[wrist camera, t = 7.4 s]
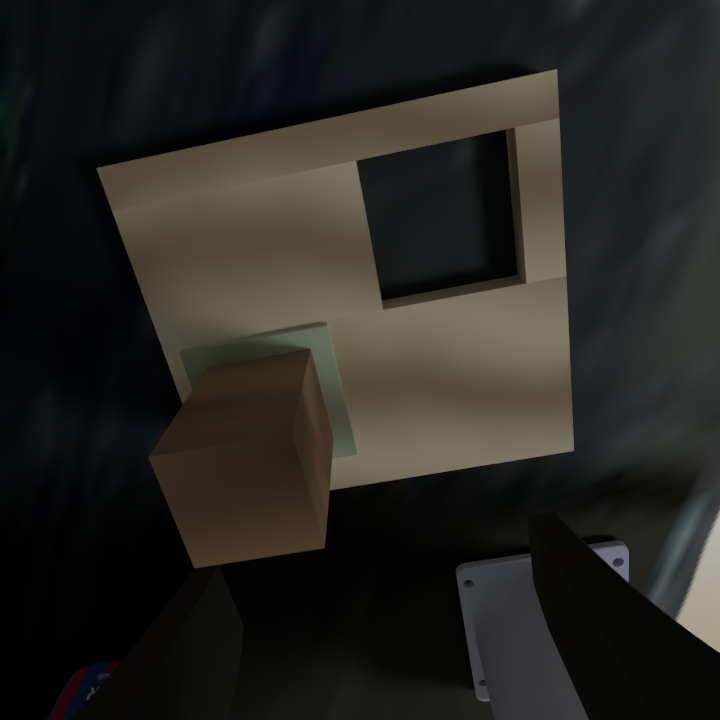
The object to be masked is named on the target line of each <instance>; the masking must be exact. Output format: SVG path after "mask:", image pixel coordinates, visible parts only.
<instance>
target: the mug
mask: <svg viewBox="0 0 720 720" xmlns="http://www.w3.org/2000/svg"><path fill="white" fill-rule="evenodd" d="M120 663H121V661H105V662H98V663H95V664H91V665H89V666H86V667H84V668H82V669H80V670H79V671H77V672H76V673H74V674H73V675H72V676H71V677H70V678H69V679H68V681H67V683H66V684H65V686H64V688H63V690H62V692H61V694H60V696H59V697H58V699H57V701H56V703H55V705H54V707H53V709H52V710H51V712H50V714H49V716H48V718H47V720H69V719H70V718H71V717H72V716H73V715H74V714H75V713H76V712H77V711H78V710H79V709H80V708H81V707H82V706H83V705H84V704H85V703H86V702H87V701H88V699H89V698H90V697H91V696H92V695H93V694H94V693H95V692H96V691H97V690H98V688H99V687H100V686H101V685H102V684H103V683H104V681H105V680H106V679H107V678H108V677H109V675H110V674H111V673H112V672H113V671H114V670H115V668H116V667H117V666H118V665H119V664H120Z"/></svg>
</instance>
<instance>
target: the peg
mask: <svg viewBox="0 0 720 720" xmlns="http://www.w3.org/2000/svg"><path fill="white" fill-rule="evenodd" d="M333 444H334V439H333V435H332V431H331V427H330V423H329V419H328V415H327V411H326V407H325V403H324V399H323V395H322V391H321V387H320V383H319V379H318V375H317V371H316V367H315V363H314V359H313V355H312V351H311V349H307V350H301V351H296V352H290V353H285V354H279V355H274V356H268V357H263V358H258V359H252V360H247V361H241V362H236V363H230V364H225V365H220V366H214V367H209V368H206V370H205V372H204V373H203V375H202V376H201V378H200V379H199V381H198V382H197V384H196V385H195V387H194V388H193V390H192V391H191V393H190V394H189V396H188V398H187V399H186V401H185V402H184V404H183V405H182V407H181V408H180V410H179V411H178V413H177V414H176V416H175V417H174V419H173V420H172V422H171V424H170V425H169V427H168V428H167V430H166V431H165V433H164V434H163V436H162V437H161V439H160V440H159V442H158V443H157V445H156V446H155V448H154V450H153V451H152V453H151V454H150V456H149V459H150V462H151V464H152V467H153V469H154V472H155V474H156V476H157V479H158V481H159V484H160V486H161V488H162V491H163V493H164V496H165V498H166V501H167V503H168V505H169V508H170V510H171V513H172V515H173V517H174V520H175V522H176V525H177V527H178V530H179V532H180V534H181V537H182V539H183V542H184V544H185V546H186V549H187V551H188V554H189V556H190V559H191V561H192V563H193V566H194V568H200V567H206V566H212V565H219V564H225V563H232V562H238V561H245V560H251V559H258V558H264V557H270V556H277V555H283V554H290V553H296V552H303V551H309V550H316V549H322V548H325V538H326V526H327V515H328V503H329V491H330V479H331V467H332V455H333Z"/></svg>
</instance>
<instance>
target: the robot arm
mask: <svg viewBox="0 0 720 720" xmlns="http://www.w3.org/2000/svg"><path fill="white" fill-rule="evenodd" d="M527 521H528V531H529V542H530V552H531V553H528V554H522V555H515V556H508V557H501V558H495V559H488V560H481V561H474V562H468V563H463V564H460V565H459V566H458V567H457V568H456V578H457V584H458V590H459V596H460V602H461V608H462V614H463V621H464V627H465V633H466V639H467V645H468V651H469V657H470V664H471V670H472V676H473V682H474V688H475V693H476V697H477V698H478V699H479V700H481V701H490V703H491V707H492V712H493V716H494V720H720V653H719V652H717V651H716V650H714V649H713V648H712V647H710V646H709V645H707V644H706V643H705V642H703V641H702V640H700V639H699V638H698V637H696V636H695V635H693V634H692V633H691V632H689V631H688V630H687V629H685V628H684V627H683V626H681V625H680V624H679V623H677V622H676V621H675V620H674V619H672V618H671V617H670V616H668V615H667V614H666V613H665V612H663V611H662V610H661V609H660V608H658V607H657V606H656V605H655V604H653V603H652V602H651V601H650V600H649V599H647V598H646V597H645V596H644V595H642V594H641V593H640V592H639V591H638V590H637V589H635V588H634V587H633V586H632V585H631V584H630V583H629V551H628V548H627V547H626V545H625V544H624V543H623V542H621V541H609V542H602V543H596V544H589V545H588V544H587V543H586V542H585V541H584V540H583V539H582V538H581V537H580V536H579V535H578V534H577V533H576V532H575V531H574V530H573V529H572V528H571V527H570V526H569V525H568V524H567V523H566V522H565V521H564V520H563V519H562V517H561V516H560V515H558V514H557V513H555V512H551V513H544V514H538V515H532V516H527ZM617 558H619V559H617ZM615 559H617V560H615ZM614 560H615V561H614ZM467 580H471V581H469V582H465V581H467ZM243 631H244V626H243V624H242V621H241V618H240V616H239V613H238V611H237V608H236V606H235V603H234V601H233V598H232V596H231V593H230V591H229V588H228V586H227V583H226V581H225V578H224V576H223V573H222V570H221V568H220V565H217V566H211V567H204V568H198V569H194V571H193V572H192V573H191V574H190V575H189V577H188V578H187V579H186V581H185V582H184V583H183V584H182V586H181V587H180V588H179V590H178V591H177V592H176V594H175V595H174V596H173V597H172V599H171V600H170V601H169V603H168V604H167V605H166V607H165V608H164V609H163V610H162V612H161V613H160V614H159V616H158V617H157V618H156V619H155V621H154V622H153V623H152V625H151V626H150V627H149V628H148V630H147V631H146V632H145V633H144V635H143V636H142V637H141V638H140V640H139V641H138V642H137V644H136V645H135V646H134V647H133V648H132V650H131V651H130V652H129V653H128V654H127V656H126V657H125V658H124V659H123V660H122V661H121V663H120V664H119V665H118V666H117V667H116V668H115V670H114V671H113V672H112V673H111V674H110V675H109V677H108V678H107V679H106V680H105V681H104V683H103V684H102V685H101V686H100V687H99V688H98V690H97V691H96V692H95V693H94V694H93V695H92V696H91V697H90V698H89V699H88V701H87V702H86V703H85V704H84V705H83V706H82V707H81V708H80V709H79V710H78V711H77V712H76V713H75V714H74V715H73V716H72V717H71V718H70V719H69V720H228V717H229V713H230V708H231V704H232V700H233V695H234V691H235V687H236V682H237V678H238V673H239V666H240V658H241V650H242V641H243Z"/></svg>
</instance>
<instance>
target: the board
mask: <svg viewBox="0 0 720 720" xmlns="http://www.w3.org/2000/svg"><path fill="white" fill-rule="evenodd" d="M505 129H506V139H507V152H508V164H509V176H510V189H511V201H512V213H513V226H514V238H515V251H516V263H517V275H516V276H510V277H505V278H500V279H494V280H489V281H484V282H478V283H473V284H468V285H462V286H457V287H452V288H446V289H441V290H436V291H430V292H425V293H420V294H414V295H409V296H404V297H398V298H393V299H388V300H382V298H381V293H380V287H379V282H378V276H377V271H376V266H375V260H374V255H373V249H372V244H371V239H370V233H369V228H368V222H367V217H366V212H365V206H364V201H363V196H362V190H361V185H360V179H359V174H358V169H357V163H356V160H361V159H366V158H370V157H375V156H380V155H385V154H390V153H394V152H399V151H404V150H409V149H414V148H418V147H423V146H428V145H433V144H438V143H443V142H447V141H452V140H457V139H462V138H467V137H471V136H476V135H481V134H486V133H491V132H495V131H500V130H505ZM97 171H98V174H99V177H100V179H101V182H102V185H103V188H104V190H105V193H106V196H107V199H108V201H109V204H110V207H111V209H112V212H113V215H114V218H115V220H116V223H117V226H118V229H119V231H120V234H121V237H122V240H123V242H124V245H125V248H126V251H127V253H128V256H129V259H130V261H131V264H132V267H133V270H134V272H135V275H136V278H137V281H138V283H139V286H140V289H141V292H142V294H143V297H144V300H145V302H146V305H147V308H148V311H149V313H150V316H151V319H152V322H153V324H154V327H155V330H156V333H157V335H158V338H159V341H160V344H161V346H162V349H163V352H164V354H165V357H166V360H167V363H168V365H169V368H170V371H171V374H172V376H173V379H174V382H175V385H176V387H177V390H178V393H179V396H180V398H181V401H182V404H184V402H185V401H186V399H187V398H188V396H189V394H190V393H191V391H192V390H193V388H194V387H195V385H196V384H197V382H198V381H199V379H200V378H201V376H202V375H203V373H204V372H205V370H206V368H209V367H214V366H220V365H225V364H230V363H236V362H241V361H247V360H252V359H258V358H263V357H268V356H274V355H279V354H285V353H290V352H296V351H301V350H307V349H311V351H312V355H313V359H314V363H315V367H316V371H317V375H318V379H319V383H320V387H321V391H322V395H323V399H324V403H325V407H326V411H327V415H328V419H329V423H330V427H331V431H332V435H333V439H334V444H333V455H332V467H331V479H330V490H334V489H340V488H347V487H353V486H359V485H365V484H371V483H378V482H384V481H390V480H396V479H402V478H408V477H415V476H421V475H427V474H433V473H439V472H446V471H452V470H458V469H464V468H470V467H476V466H483V465H489V464H495V463H501V462H507V461H513V460H520V459H526V458H532V457H538V456H544V455H551V454H557V453H563V452H569V451H574V439H573V416H572V394H571V372H570V349H569V327H568V304H567V282H566V259H565V237H564V214H563V192H562V169H561V147H560V124H559V102H558V79H557V69H556V70H551V71H546V72H542V73H537V74H532V75H528V76H523V77H518V78H514V79H509V80H504V81H500V82H495V83H490V84H486V85H481V86H477V87H472V88H467V89H463V90H458V91H453V92H449V93H444V94H439V95H435V96H430V97H425V98H421V99H416V100H411V101H407V102H402V103H397V104H393V105H388V106H383V107H379V108H374V109H369V110H365V111H360V112H355V113H351V114H346V115H341V116H337V117H332V118H327V119H323V120H318V121H314V122H309V123H304V124H300V125H295V126H290V127H286V128H281V129H276V130H272V131H267V132H262V133H258V134H253V135H248V136H244V137H239V138H234V139H230V140H225V141H220V142H216V143H211V144H206V145H202V146H197V147H192V148H188V149H183V150H178V151H174V152H169V153H165V154H160V155H155V156H151V157H146V158H141V159H137V160H132V161H127V162H123V163H118V164H113V165H109V166H104V167H99V168H97Z"/></svg>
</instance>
